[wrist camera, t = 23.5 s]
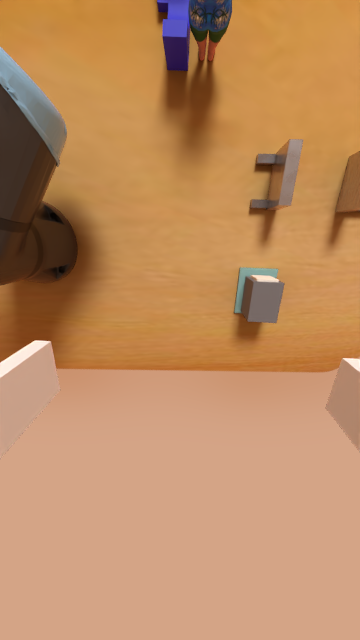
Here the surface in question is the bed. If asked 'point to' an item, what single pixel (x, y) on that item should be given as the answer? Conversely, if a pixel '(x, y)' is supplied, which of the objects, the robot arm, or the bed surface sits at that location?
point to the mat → (241, 282)
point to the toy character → (209, 22)
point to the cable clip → (176, 33)
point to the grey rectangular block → (261, 298)
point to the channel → (354, 193)
